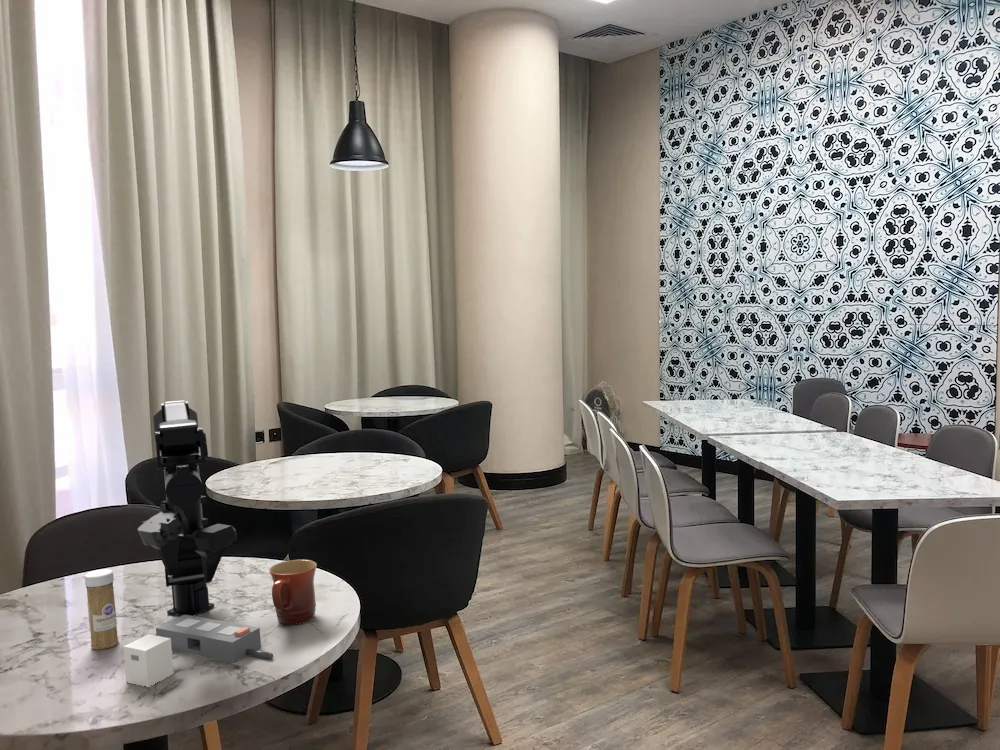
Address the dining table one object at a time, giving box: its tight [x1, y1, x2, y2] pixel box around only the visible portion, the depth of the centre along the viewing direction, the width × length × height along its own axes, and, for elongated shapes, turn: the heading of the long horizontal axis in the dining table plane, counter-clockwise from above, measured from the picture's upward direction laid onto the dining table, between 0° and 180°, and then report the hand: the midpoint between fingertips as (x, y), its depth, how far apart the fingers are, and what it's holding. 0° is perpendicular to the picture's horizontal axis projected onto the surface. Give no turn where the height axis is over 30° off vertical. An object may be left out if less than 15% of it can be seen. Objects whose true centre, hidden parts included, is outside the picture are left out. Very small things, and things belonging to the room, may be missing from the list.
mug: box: [269, 559, 318, 626], centre depth 149 cm, size 12×9×10 cm
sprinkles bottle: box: [84, 568, 120, 651], centre depth 143 cm, size 5×5×13 cm
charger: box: [122, 633, 179, 688], centre depth 130 cm, size 5×8×6 cm, turn 155°
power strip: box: [155, 615, 274, 663], centre depth 139 cm, size 24×6×4 cm, turn 65°
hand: (190, 578), depth 142 cm, fingers open, 9 cm apart
